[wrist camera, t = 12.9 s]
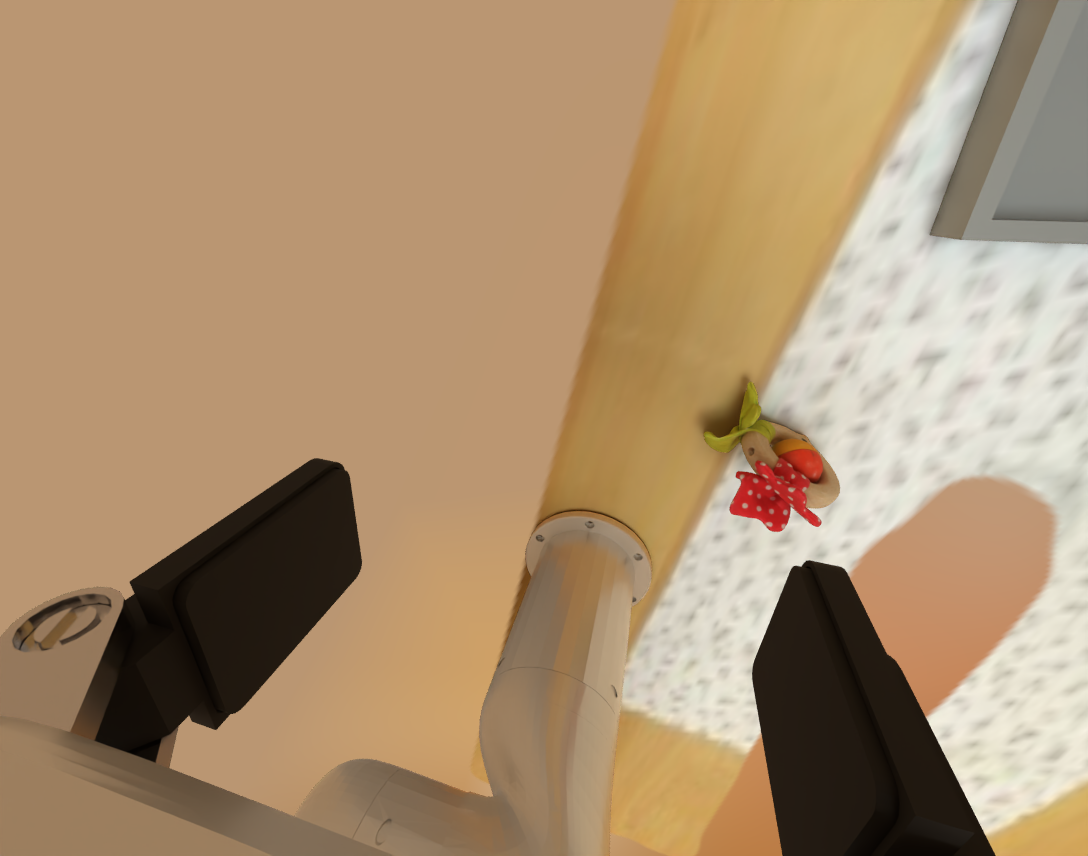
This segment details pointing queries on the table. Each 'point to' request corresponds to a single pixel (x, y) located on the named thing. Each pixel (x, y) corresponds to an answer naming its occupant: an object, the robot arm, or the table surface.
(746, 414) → the bird rattle
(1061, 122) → the tray
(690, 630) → the table surface
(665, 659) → the table surface
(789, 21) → the table surface
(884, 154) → the table surface
